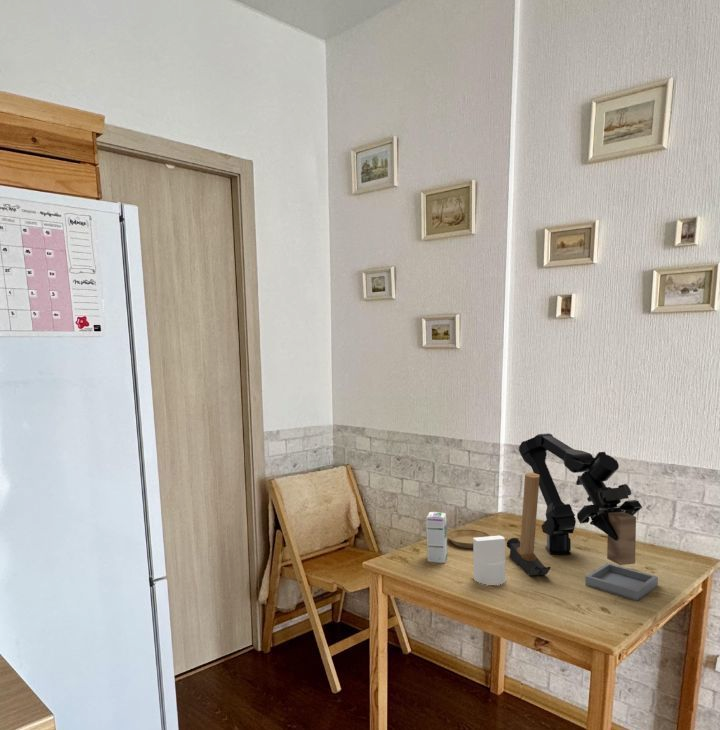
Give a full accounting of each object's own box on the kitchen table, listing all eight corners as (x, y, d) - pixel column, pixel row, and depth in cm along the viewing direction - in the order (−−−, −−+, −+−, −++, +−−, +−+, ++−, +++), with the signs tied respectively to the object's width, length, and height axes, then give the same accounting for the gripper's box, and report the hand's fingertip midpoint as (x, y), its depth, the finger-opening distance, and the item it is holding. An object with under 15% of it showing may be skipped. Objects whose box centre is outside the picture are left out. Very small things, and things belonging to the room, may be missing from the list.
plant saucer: (450, 551, 181) (450, 543, 181) (444, 536, 196) (444, 529, 196) (495, 550, 181) (495, 542, 181) (485, 535, 196) (485, 528, 196)
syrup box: (445, 563, 170) (444, 517, 170) (426, 561, 172) (426, 516, 171) (447, 556, 176) (446, 512, 175) (429, 555, 177) (428, 511, 177)
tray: (637, 601, 142) (637, 591, 142) (585, 585, 153) (585, 576, 153) (657, 585, 152) (657, 576, 151) (607, 571, 162) (607, 562, 162)
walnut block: (607, 558, 154) (608, 512, 153) (621, 557, 155) (622, 511, 155) (620, 565, 149) (621, 518, 149) (635, 563, 150) (636, 516, 150)
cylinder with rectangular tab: (481, 587, 152) (480, 544, 152) (468, 574, 161) (468, 534, 161) (511, 584, 154) (510, 542, 154) (497, 571, 163) (496, 532, 163)
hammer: (549, 585, 158) (557, 489, 152) (532, 586, 157) (540, 490, 151) (520, 549, 177) (526, 462, 171) (505, 550, 177) (511, 463, 171)
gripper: (583, 477, 153) (612, 528, 142) (636, 472, 158) (668, 520, 148) (565, 498, 160) (591, 548, 150) (616, 492, 166) (645, 540, 155)
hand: (625, 538), depth 151 cm, fingers closed on walnut block, 5 cm apart
